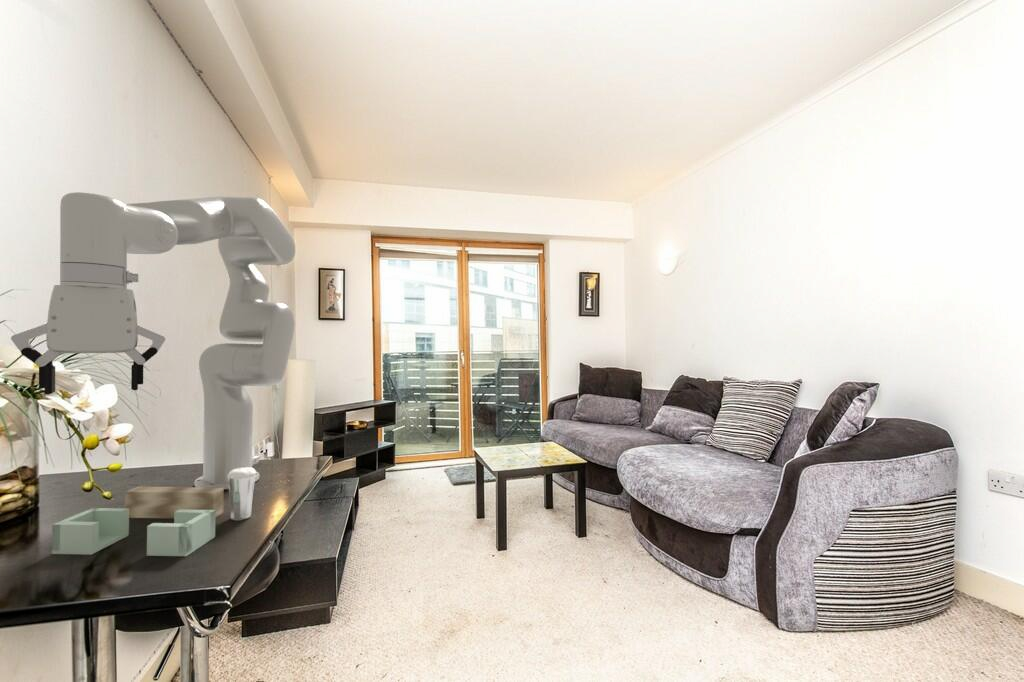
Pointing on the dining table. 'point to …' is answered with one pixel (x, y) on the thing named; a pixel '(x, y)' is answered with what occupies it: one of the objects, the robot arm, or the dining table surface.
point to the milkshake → (241, 491)
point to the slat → (172, 500)
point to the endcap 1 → (90, 531)
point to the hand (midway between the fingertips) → (94, 391)
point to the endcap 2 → (181, 533)
